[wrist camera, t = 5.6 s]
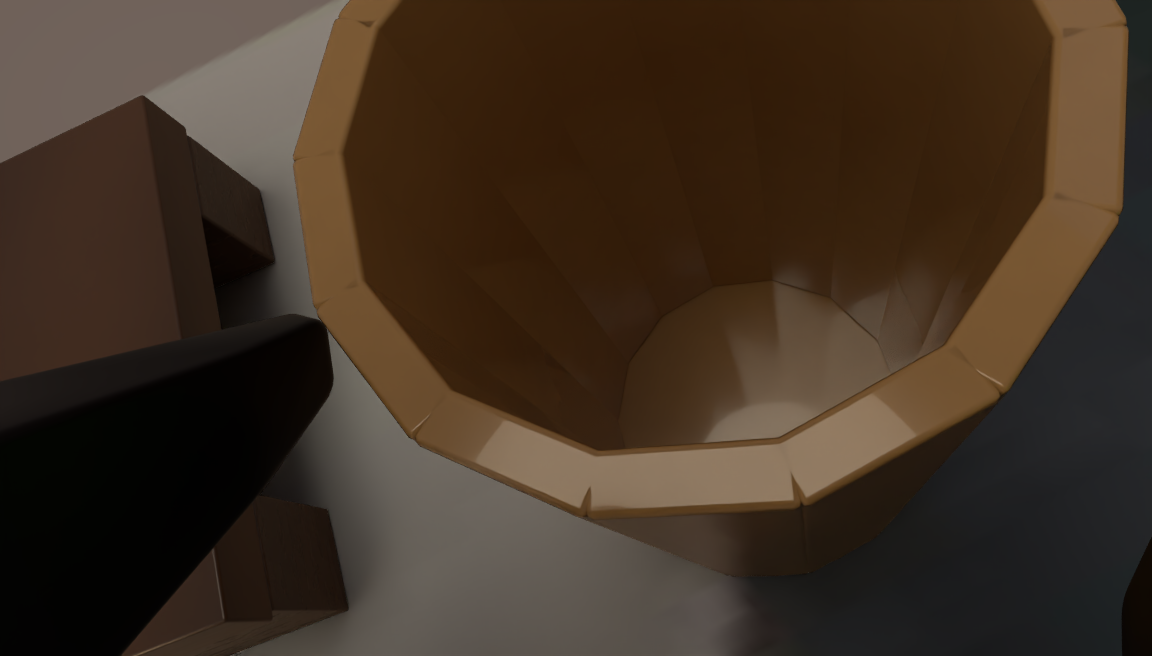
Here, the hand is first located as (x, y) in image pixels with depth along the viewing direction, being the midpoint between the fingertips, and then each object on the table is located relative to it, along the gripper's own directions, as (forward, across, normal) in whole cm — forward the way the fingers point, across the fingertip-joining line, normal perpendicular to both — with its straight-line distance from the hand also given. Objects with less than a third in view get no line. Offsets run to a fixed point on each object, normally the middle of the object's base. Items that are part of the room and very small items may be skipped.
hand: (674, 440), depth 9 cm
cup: (+8, 0, +5) cm, 10 cm away
